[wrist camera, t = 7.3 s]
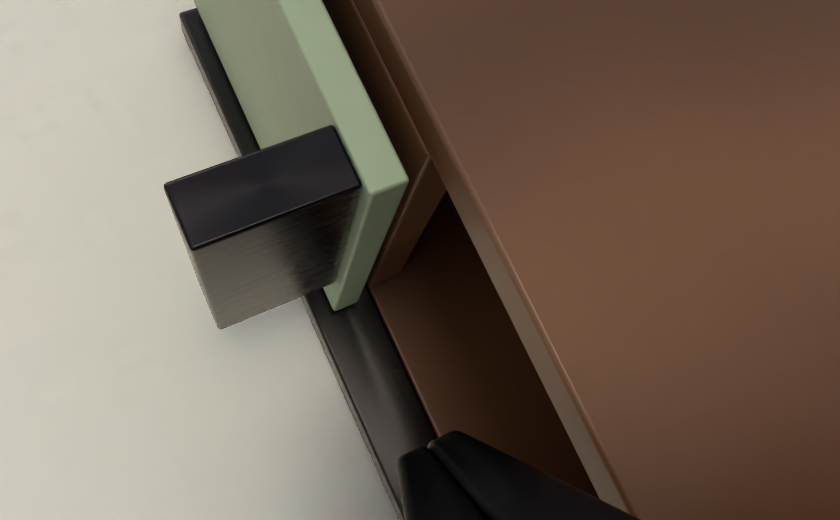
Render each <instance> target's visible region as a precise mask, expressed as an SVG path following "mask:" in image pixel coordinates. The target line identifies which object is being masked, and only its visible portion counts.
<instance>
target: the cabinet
mask: <svg viewBox="0 0 840 520" xmlns="http://www.w3.org/2000/svg"><path fill="white" fill-rule="evenodd" d="M322 1H323V3H324V5H325V7H326V10H327V12H328V14H329V16H330V18H331V20H332V22H333V24H334V26H335V28H336V30H337V32H338V34H339V36H340V38H341V40H342V42H343V44H344V46H345V49H346V51H347V53H348V55H349V57H350V59H351V61H352V63H353V65H354V67H355V69H356V71H357V73H358V75H359V77H360V79H361V81H362V83H363V86H364V88H365V90H366V92H367V94H368V96H369V98H370V100H371V102H372V104H373V106H374V108H375V110H376V112H377V114H378V116H379V118H380V120H381V123H382V125H383V127H384V129H385V131H386V133H387V135H388V137H389V139H390V141H391V143H392V145H393V147H394V149H395V151H396V153H397V155H398V157H399V160H400V162H401V164H402V166H403V168H404V170H405V172H406V174H407V176H408V178H409V182H408V185H407V187H406V189H405V192H404V194H403V196H402V199H401V201H400V204H399V206H398V208H397V211H396V213H395V215H394V218H393V220H392V222H391V225H390V227H389V229H388V232H387V234H386V236H385V239H384V241H383V243H382V246H381V248H380V250H379V253H378V255H377V257H376V260H375V262H374V265H373V267H372V269H371V272H370V274H369V276H368V279H367V281H366V283H365V286H364V288H363V290H362V293H361V295H360V297H359V300H358V301H357V302H356V303H354V304H351V305H349V306H347V307H344V308H342V309H340V310H337V311H334V310H333V309H332V306H331V304H330V302H329V300H328V298H327V295H326V293H325V291H324V289H323V288H320V289H318V290H316V291H313V292H311V293H308V294H306V295H303V296H301V299H302V301H303V304H304V306H305V308H306V310H307V313H308V315H309V317H310V319H311V322H312V324H313V326H314V328H315V331H316V333H317V335H318V337H319V340H320V342H321V344H322V346H323V349H324V351H325V353H326V355H327V358H328V360H329V362H330V364H331V367H332V369H333V371H334V373H335V376H336V378H337V380H338V382H339V385H340V387H341V389H342V391H343V394H344V396H345V398H346V400H347V403H348V405H349V407H350V409H351V412H352V414H353V416H354V418H355V421H356V423H357V425H358V428H359V430H360V432H361V434H362V437H363V439H364V441H365V443H366V446H367V448H368V450H369V452H370V455H371V457H372V459H373V461H374V464H375V466H376V468H377V470H378V473H379V475H380V477H381V479H382V482H383V484H384V486H385V488H386V491H387V493H388V495H389V497H390V500H391V502H392V504H393V506H394V509H395V511H396V513H397V515H398V518H399V520H405V518H404V511H403V505H402V498H401V491H400V485H399V478H398V471H397V463H396V461H397V459H398V457H400V456H401V455H403V454H406V453H408V452H410V451H412V450H414V449H416V448H418V447H420V446H426V447H428V444H429V442H430V441H432V440H434V439H436V438H438V437H440V436H442V435H444V434H446V433H448V432H450V431H453V430H458V431H461V432H463V433H465V434H467V435H469V436H471V437H473V438H475V439H477V440H479V441H481V442H484V443H486V444H488V445H490V446H492V447H494V448H496V449H498V450H500V451H502V452H504V453H506V454H508V455H510V456H512V457H514V458H516V459H518V460H520V461H522V462H524V463H526V464H528V465H531V466H533V467H535V468H537V469H539V470H541V471H543V472H545V473H547V474H549V475H551V476H553V477H555V478H557V479H559V480H561V481H563V482H565V483H567V484H569V485H571V486H573V487H576V488H578V489H580V490H582V491H584V492H586V493H588V494H590V495H592V496H594V497H596V498H598V499H600V500H602V501H604V502H606V503H608V504H610V505H612V506H614V507H616V508H618V509H620V510H623V511H625V512H627V513H629V514H631V515H633V516H635V517H637V518H639V519H641V520H840V0H322ZM180 21H181V26H182V31H183V33H184V36H185V38H186V40H187V42H188V45H189V47H190V49H191V51H192V54H193V56H194V58H195V60H196V63H197V65H198V67H199V69H200V72H201V74H202V76H203V78H204V81H205V83H206V85H207V87H208V90H209V92H210V94H211V96H212V99H213V101H214V103H215V105H216V108H217V110H218V112H219V114H220V117H221V119H222V121H223V123H224V126H225V128H226V130H227V132H228V135H229V137H230V139H231V141H232V144H233V146H234V148H235V150H236V153H237V155H238V157H241V156H244V155H247V154H249V153H252V152H255V151H258V150H261V149H260V147H259V144H258V142H257V140H256V138H255V136H254V133H253V131H252V129H251V127H250V124H249V122H248V120H247V118H246V116H245V113H244V111H243V109H242V107H241V105H240V102H239V100H238V98H237V96H236V93H235V91H234V89H233V87H232V85H231V82H230V80H229V78H228V76H227V73H226V71H225V69H224V67H223V65H222V62H221V60H220V58H219V56H218V54H217V51H216V49H215V47H214V45H213V42H212V40H211V38H210V36H209V34H208V31H207V29H206V27H205V25H204V22H203V20H202V18H201V16H200V14H199V11H198V9H197V8H195V9H192V10H188V11H185V12H182V13H180Z"/></svg>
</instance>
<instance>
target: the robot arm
mask: <svg viewBox="0 0 840 520" xmlns="http://www.w3.org/2000/svg"><path fill="white" fill-rule="evenodd" d="M396 463H397V471H398V478H399V485H400V491H401V498H402V505H403V511H404V518H405V520H641V519H639V518H637V517H635V516H633V515H631V514H629V513H627V512H625V511H623V510H620V509H618V508H616V507H614V506H612V505H610V504H608V503H606V502H604V501H602V500H600V499H598V498H596V497H594V496H592V495H590V494H588V493H586V492H584V491H582V490H580V489H578V488H576V487H573V486H571V485H569V484H567V483H565V482H563V481H561V480H559V479H557V478H555V477H553V476H551V475H549V474H547V473H545V472H543V471H541V470H539V469H537V468H535V467H533V466H531V465H528V464H526V463H524V462H522V461H520V460H518V459H516V458H514V457H512V456H510V455H508V454H506V453H504V452H502V451H500V450H498V449H496V448H494V447H492V446H490V445H488V444H486V443H484V442H481V441H479V440H477V439H475V438H473V437H471V436H469V435H467V434H465V433H463V432H461V431H458V430H453V431H450V432H448V433H446V434H444V435H442V436H440V437H438V438H436V439H434V440H432V441H430V442H429V444H428V447H426V446H420V447H418V448H416V449H414V450H412V451H410V452H408V453H406V454H403V455H401V456H400V457H398V459H397V461H396Z"/></svg>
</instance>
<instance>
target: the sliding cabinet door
mask: <svg viewBox="0 0 840 520" xmlns="http://www.w3.org/2000/svg"><path fill="white" fill-rule="evenodd" d="M194 2H195V5H196V7H197V9H198V11H199V14H200V16H201V18H202V20H203V22H204V25H205V27H206V29H207V31H208V34H209V36H210V38H211V40H212V42H213V45H214V47H215V49H216V51H217V54H218V56H219V58H220V60H221V62H222V65H223V67H224V69H225V71H226V73H227V76H228V78H229V80H230V82H231V85H232V87H233V89H234V91H235V93H236V96H237V98H238V100H239V102H240V105H241V107H242V109H243V111H244V113H245V116H246V118H247V120H248V122H249V124H250V127H251V129H252V131H253V133H254V136H255V138H256V140H257V142H258V144H259V147H260V149H261V150H258V151H255V152H252V153H249V154H247V155H244V156H241V157H238V158H235V159H232V160H230V161H227V162H224V163H221V164H218V165H215V166H213V167H210V168H207V169H204V170H201V171H198V172H196V173H193V174H190V175H187V176H184V177H181V178H179V179H176V180H173V181H170V182H167V183H166V184H164V190H165V193H166V196H167V198H168V201H169V204H170V206H171V209H172V212H173V214H174V217H175V220H176V222H177V225H178V228H179V230H180V233H181V236H182V238H183V241H184V244H185V246H186V249H187V252H188V254H189V257H190V260H191V262H192V265H193V268H194V270H195V273H196V276H197V278H198V281H199V284H200V286H201V289H202V291H203V294H204V296H205V298H206V301H207V303H208V305H209V308H210V310H211V313H212V315H213V317H214V320H215V322H216V325H217V327H218V328H219V329H223V328H226V327H228V326H231V325H233V324H235V323H238V322H240V321H243V320H245V319H248V318H250V317H252V316H255V315H257V314H260V313H262V312H265V311H267V310H269V309H272V308H274V307H277V306H279V305H282V304H284V303H286V302H289V301H291V300H294V299H296V298H299V297H301V296H303V295H306V294H308V293H311V292H313V291H316V290H318V289H320V288H323V289H324V291H325V293H326V295H327V298H328V300H329V302H330V304H331V306H332V309H333V310H334V311H337V310H340V309H342V308H344V307H347V306H349V305H351V304H354V303H356V302H357V301H358V300H359V297H360V295H361V293H362V290H363V288H364V286H365V283H366V281H367V279H368V276H369V274H370V272H371V269H372V267H373V265H374V262H375V260H376V257H377V255H378V253H379V250H380V248H381V246H382V243H383V241H384V239H385V236H386V234H387V232H388V229H389V227H390V225H391V222H392V220H393V218H394V215H395V213H396V211H397V208H398V206H399V204H400V201H401V199H402V196H403V194H404V192H405V189H406V187H407V185H408V182H409V178H408V176H407V174H406V172H405V170H404V168H403V166H402V164H401V162H400V160H399V157H398V155H397V153H396V151H395V149H394V147H393V145H392V143H391V141H390V139H389V137H388V135H387V133H386V131H385V129H384V127H383V125H382V123H381V120H380V118H379V116H378V114H377V112H376V110H375V108H374V106H373V104H372V102H371V100H370V98H369V96H368V94H367V92H366V90H365V88H364V86H363V83H362V81H361V79H360V77H359V75H358V73H357V71H356V69H355V67H354V65H353V63H352V61H351V59H350V57H349V55H348V53H347V51H346V49H345V46H344V44H343V42H342V40H341V38H340V36H339V34H338V32H337V30H336V28H335V26H334V24H333V22H332V20H331V18H330V16H329V14H328V12H327V10H326V7H325V5H324V3H323V1H322V0H194Z"/></svg>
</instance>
